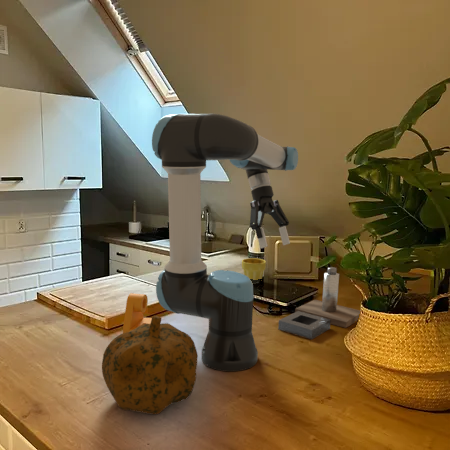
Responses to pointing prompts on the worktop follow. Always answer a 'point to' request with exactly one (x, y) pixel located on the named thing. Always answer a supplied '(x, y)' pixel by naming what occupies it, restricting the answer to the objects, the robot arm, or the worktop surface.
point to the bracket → (135, 312)
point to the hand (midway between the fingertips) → (275, 246)
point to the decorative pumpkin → (150, 367)
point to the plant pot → (253, 268)
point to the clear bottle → (330, 290)
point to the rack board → (338, 318)
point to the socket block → (304, 324)
